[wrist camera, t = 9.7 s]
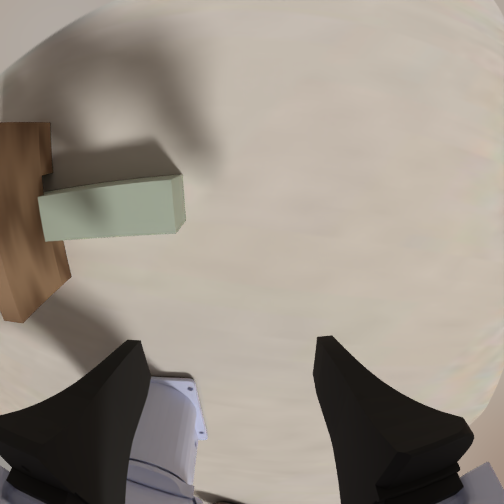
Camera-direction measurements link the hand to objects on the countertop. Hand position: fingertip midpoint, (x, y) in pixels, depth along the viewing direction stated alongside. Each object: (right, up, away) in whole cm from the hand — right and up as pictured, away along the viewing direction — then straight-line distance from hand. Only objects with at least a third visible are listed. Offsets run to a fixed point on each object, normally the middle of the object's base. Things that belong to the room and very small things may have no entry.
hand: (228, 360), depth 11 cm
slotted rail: (-14, +7, +7) cm, 18 cm away
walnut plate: (-14, +8, +7) cm, 18 cm away
